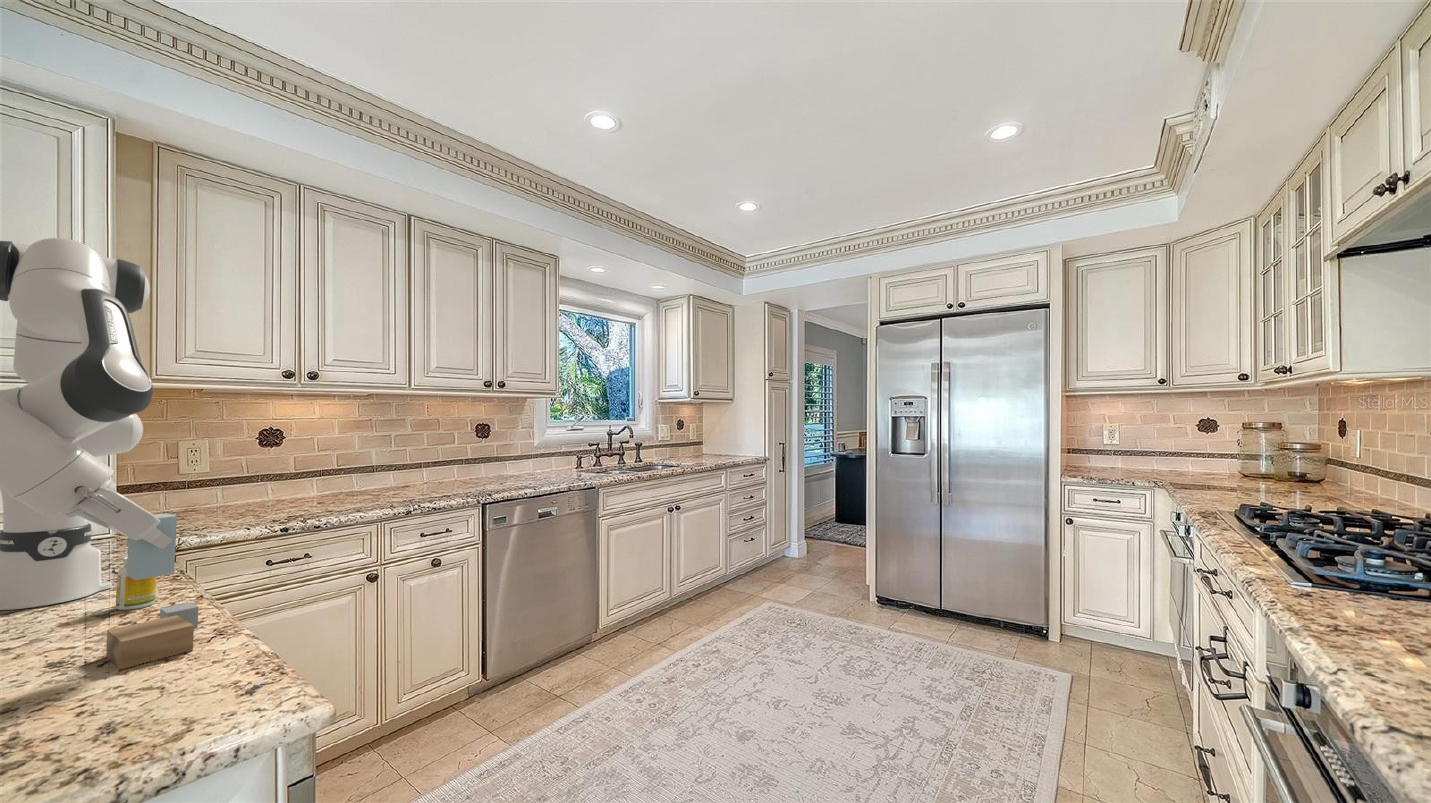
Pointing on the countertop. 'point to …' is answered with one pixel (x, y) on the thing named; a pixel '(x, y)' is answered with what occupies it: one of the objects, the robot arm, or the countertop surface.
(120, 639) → the plinth
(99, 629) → the countertop surface
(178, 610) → the block
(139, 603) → the supplement bottle
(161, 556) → the pillar
